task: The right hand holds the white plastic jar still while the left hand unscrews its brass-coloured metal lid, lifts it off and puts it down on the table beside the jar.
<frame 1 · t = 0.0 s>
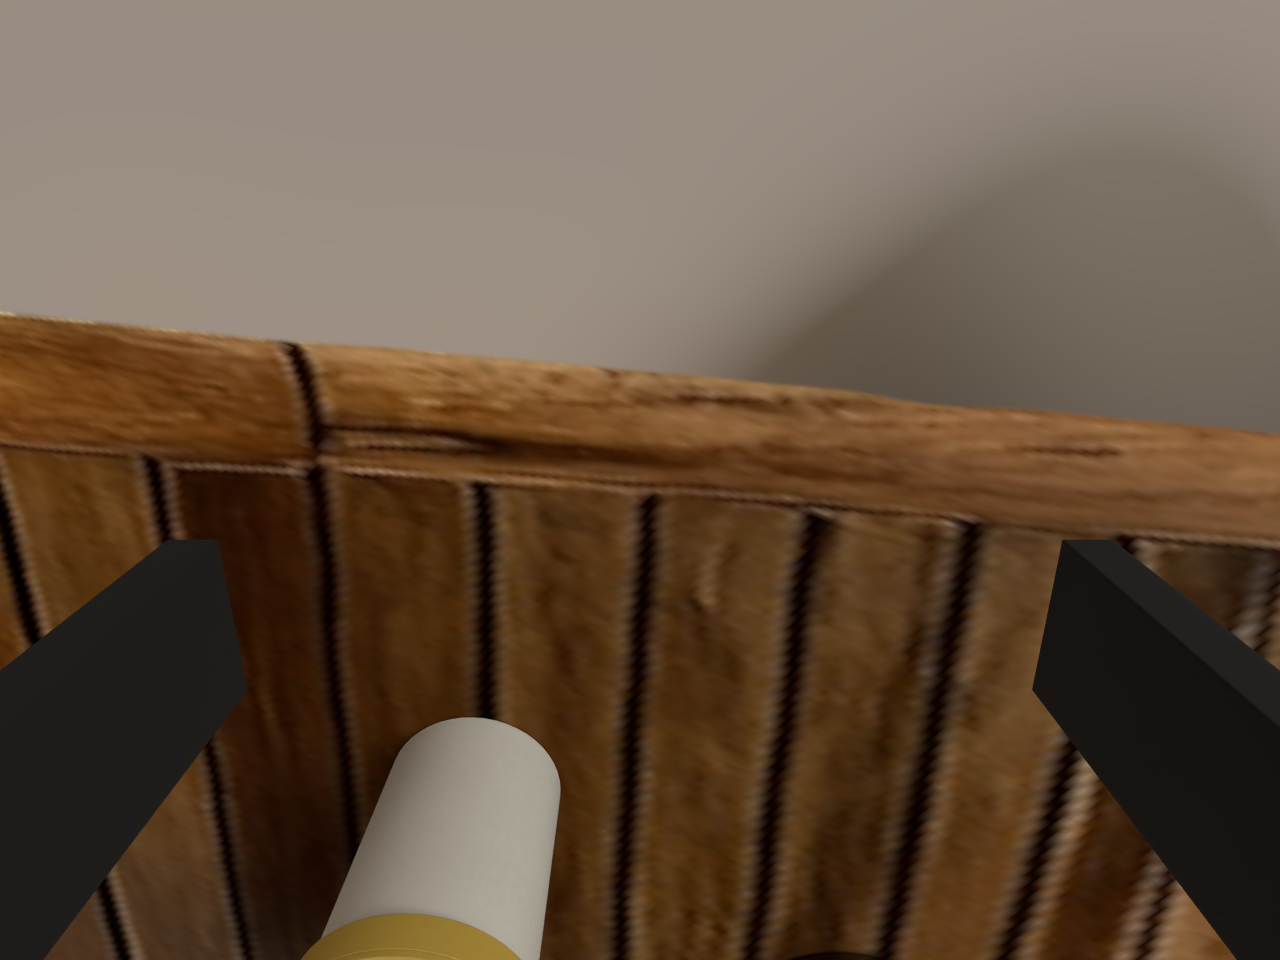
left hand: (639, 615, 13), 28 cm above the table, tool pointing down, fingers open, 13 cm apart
jar: (476, 786, 49), on the table
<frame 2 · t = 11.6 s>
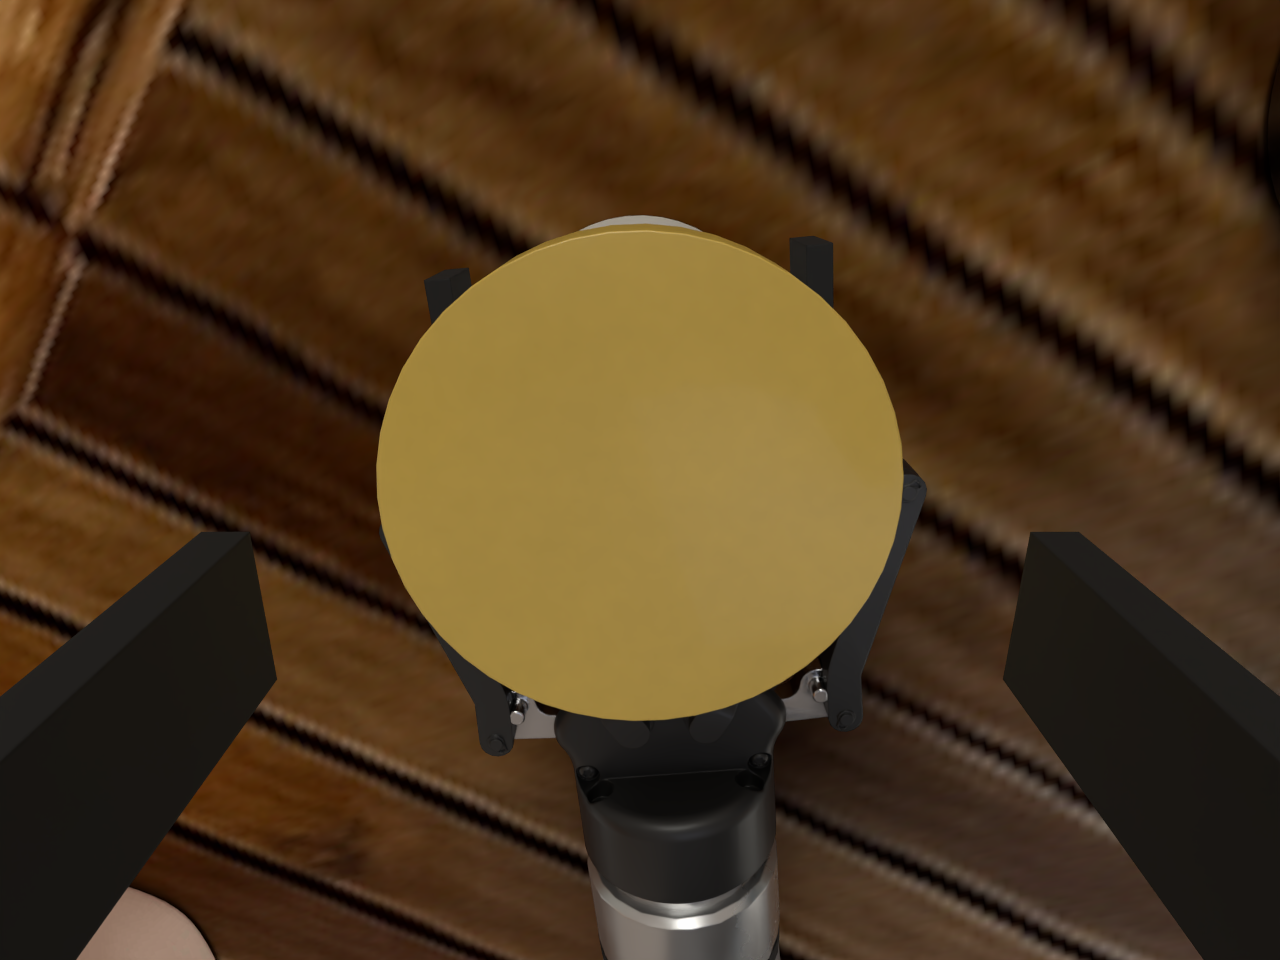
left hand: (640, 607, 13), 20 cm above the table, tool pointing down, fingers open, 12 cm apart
lid: (639, 497, 18), point 15 cm above the table, screwed on, not yet turned
jar: (640, 350, 32), on the table, touching right hand
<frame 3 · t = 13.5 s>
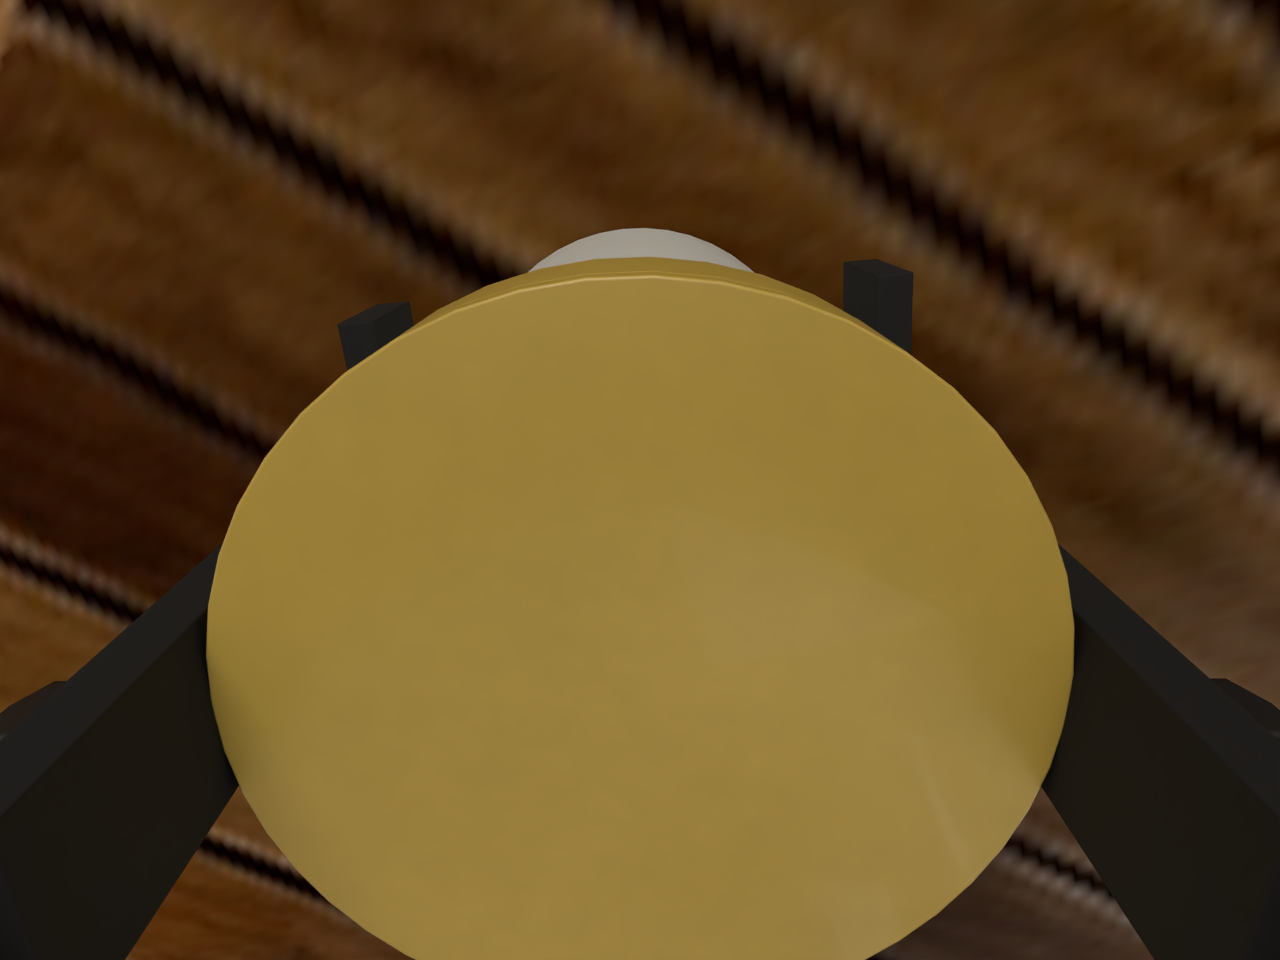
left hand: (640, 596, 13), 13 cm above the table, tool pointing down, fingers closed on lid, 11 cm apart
lid: (640, 697, 11), point 15 cm above the table, screwed on, not yet turned, touching left hand
jar: (640, 397, 25), on the table, touching right hand
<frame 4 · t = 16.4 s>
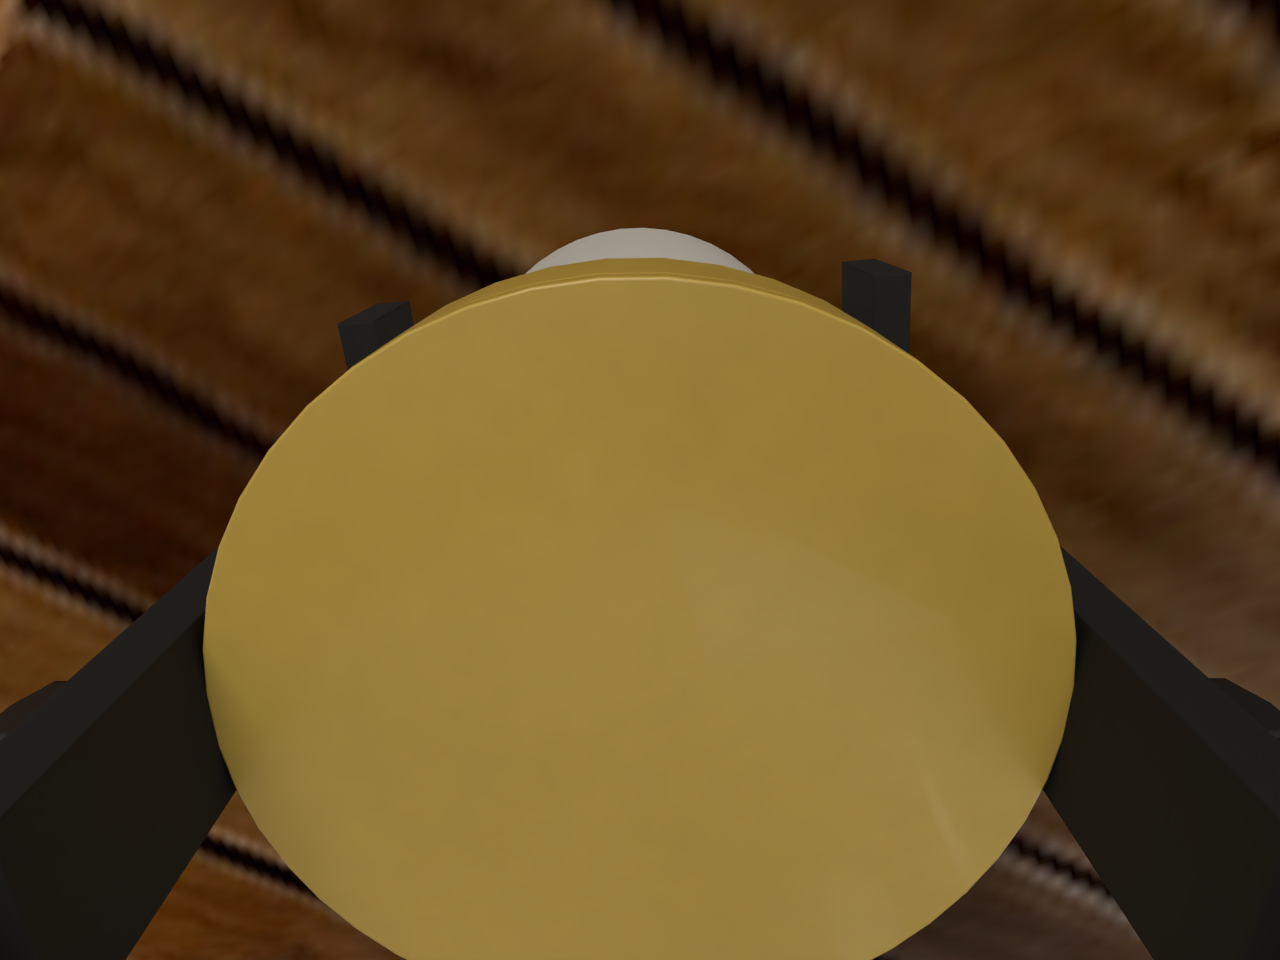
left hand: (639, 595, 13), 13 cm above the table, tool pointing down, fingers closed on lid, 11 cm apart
lid: (639, 700, 11), point 16 cm above the table, turned 81° so far, risen 0.1 cm, still on its thread, touching left hand
jar: (639, 397, 25), on the table, touching right hand
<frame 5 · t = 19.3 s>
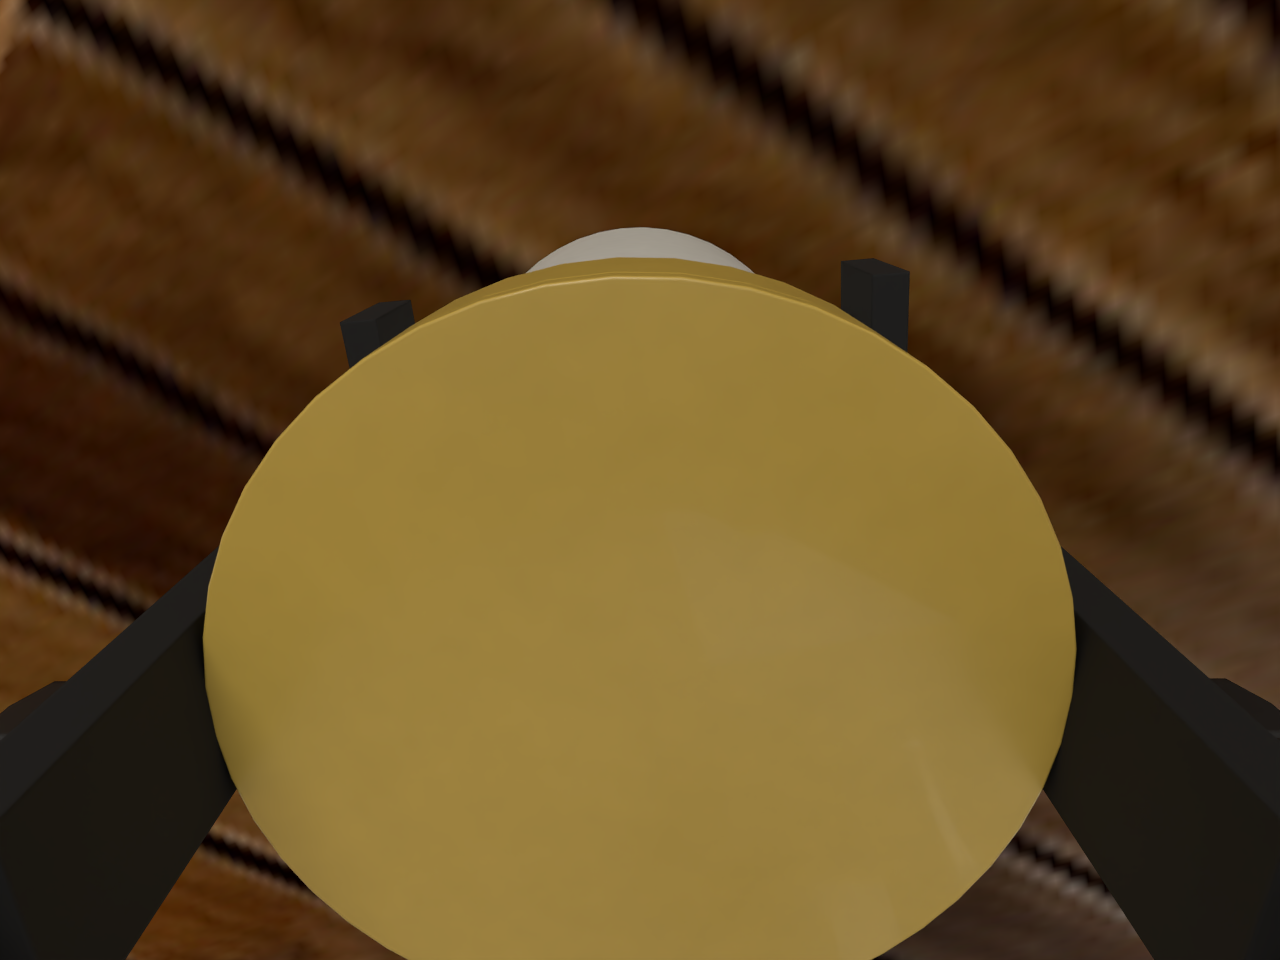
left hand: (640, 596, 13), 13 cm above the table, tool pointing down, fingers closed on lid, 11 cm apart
lid: (639, 699, 11), point 16 cm above the table, turned 162° so far, risen 0.2 cm, still on its thread, touching left hand
jar: (639, 396, 26), on the table, touching right hand
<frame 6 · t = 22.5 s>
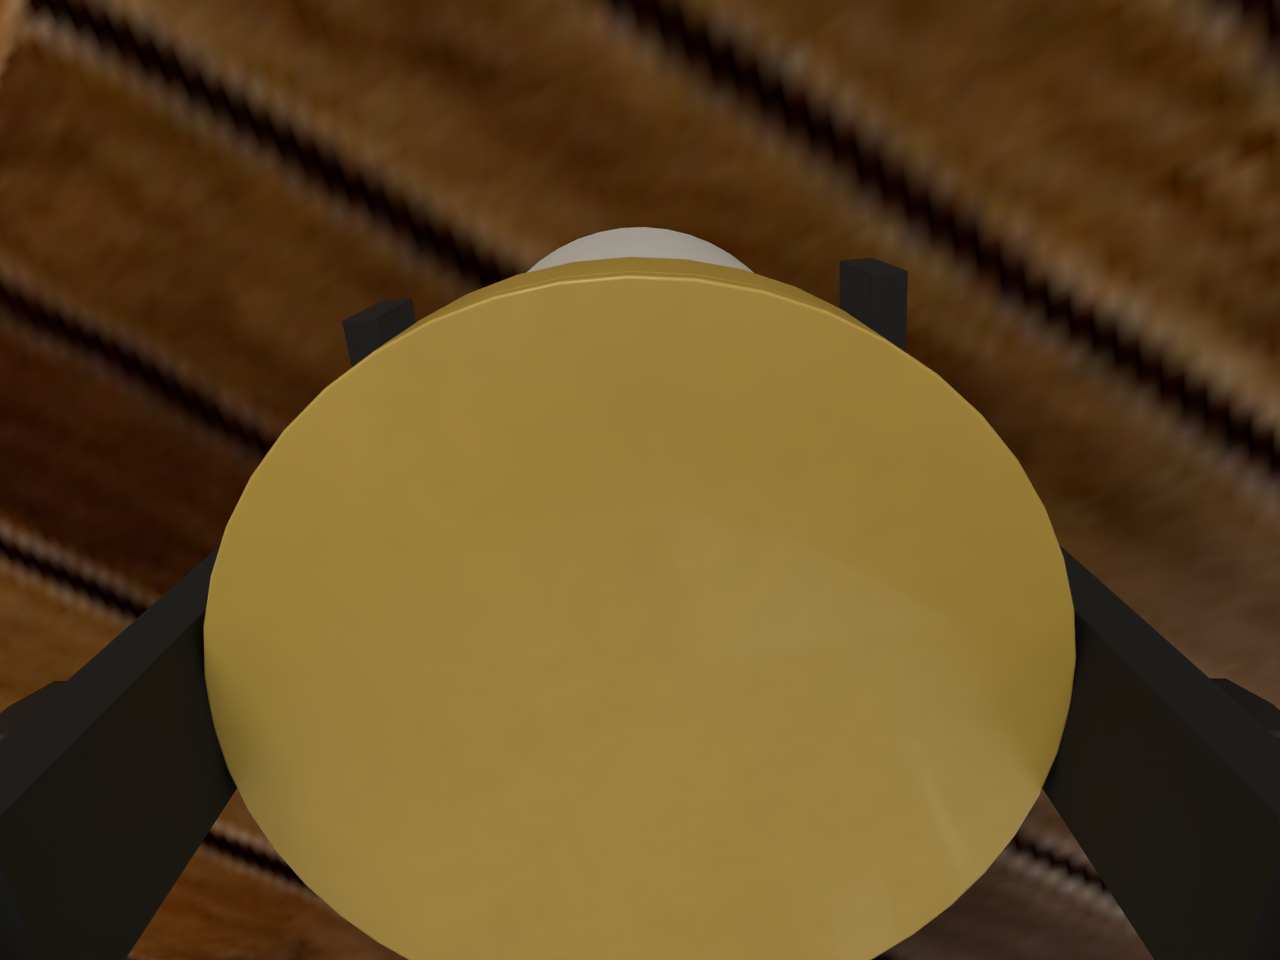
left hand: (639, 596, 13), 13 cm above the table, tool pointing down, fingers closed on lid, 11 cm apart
lid: (639, 699, 11), point 16 cm above the table, turned 243° so far, risen 0.4 cm, still on its thread, touching left hand
jar: (639, 395, 26), on the table, touching right hand
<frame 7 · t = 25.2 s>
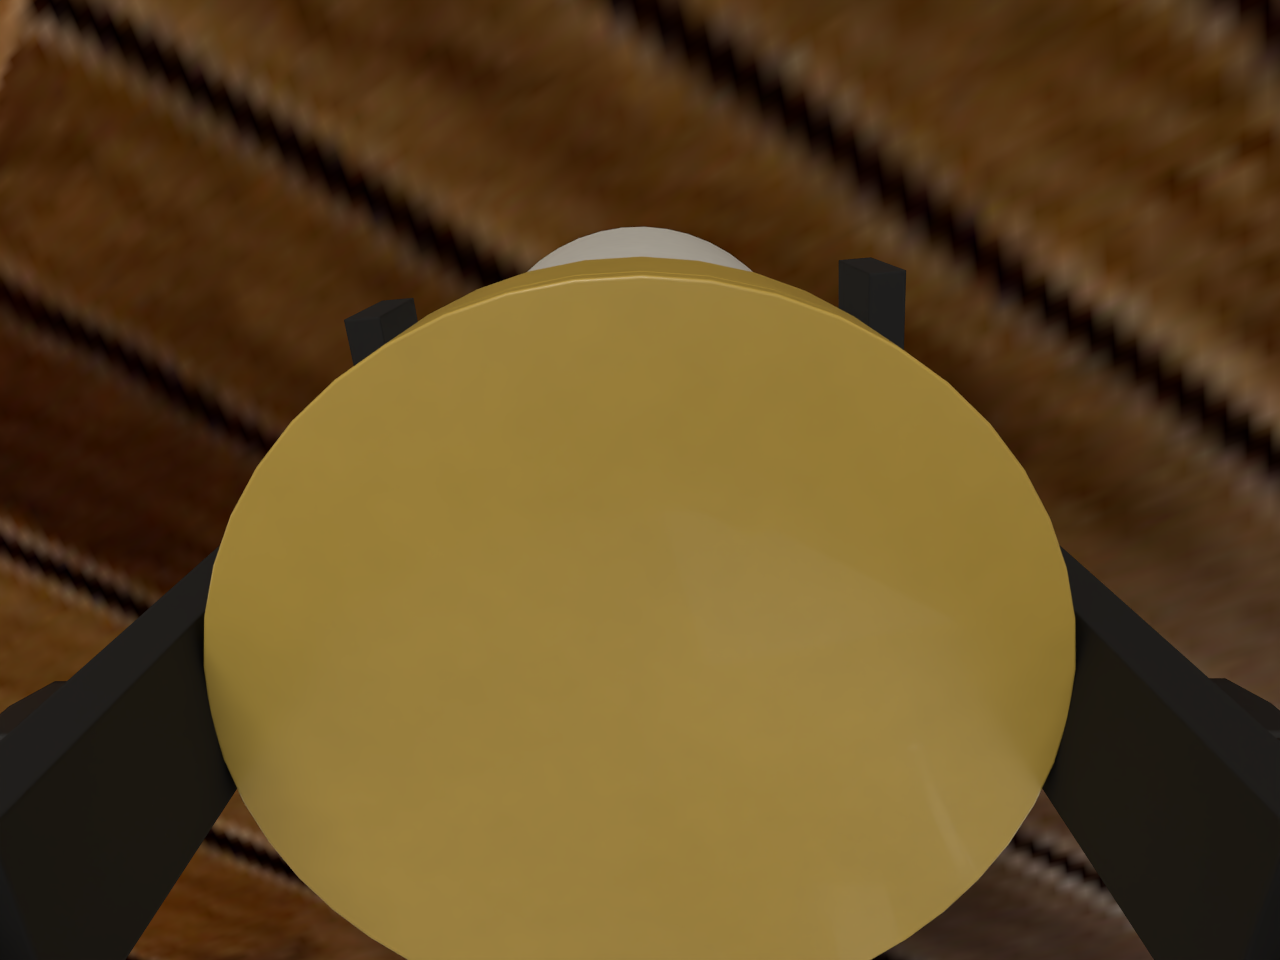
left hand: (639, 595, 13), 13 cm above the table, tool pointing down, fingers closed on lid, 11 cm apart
lid: (639, 699, 11), point 16 cm above the table, turned 324° so far, risen 0.5 cm, still on its thread, touching left hand
jar: (639, 394, 26), on the table, touching right hand
when the left hand's fingers open (0 cm above the table, at t = 31.9 s): lid drops 1 cm, point 2 cm above the table.
when the right hand's fingers open (7 cm above the table, at t = 32.9 s): jar stays where it is, on the table.
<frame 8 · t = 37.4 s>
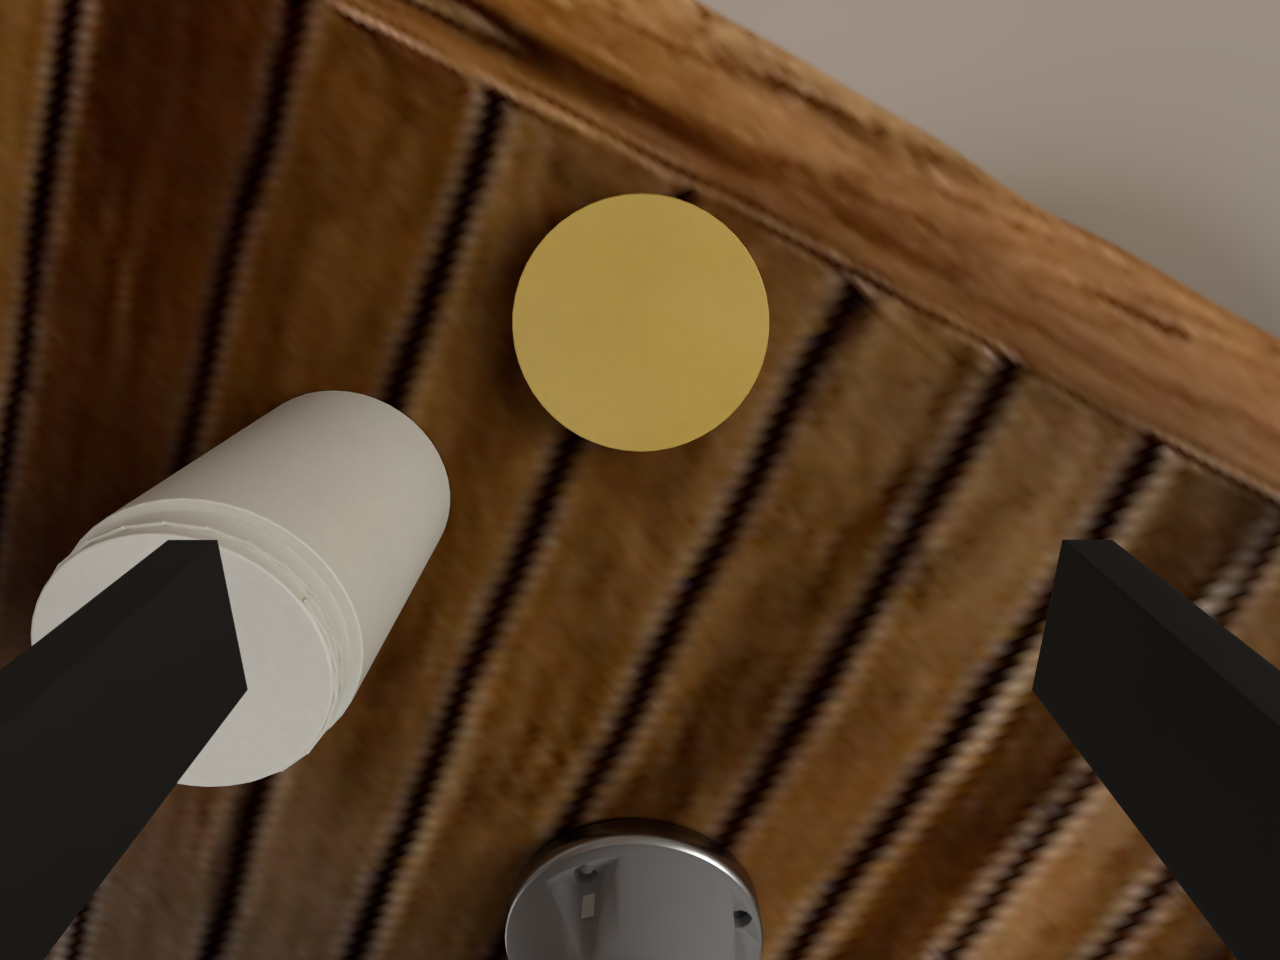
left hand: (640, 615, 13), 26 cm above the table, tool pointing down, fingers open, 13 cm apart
lid: (640, 328, 36), point 2 cm above the table, off its thread
jar: (347, 490, 40), on the table
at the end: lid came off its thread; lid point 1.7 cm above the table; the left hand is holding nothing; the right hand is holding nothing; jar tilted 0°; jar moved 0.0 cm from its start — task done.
